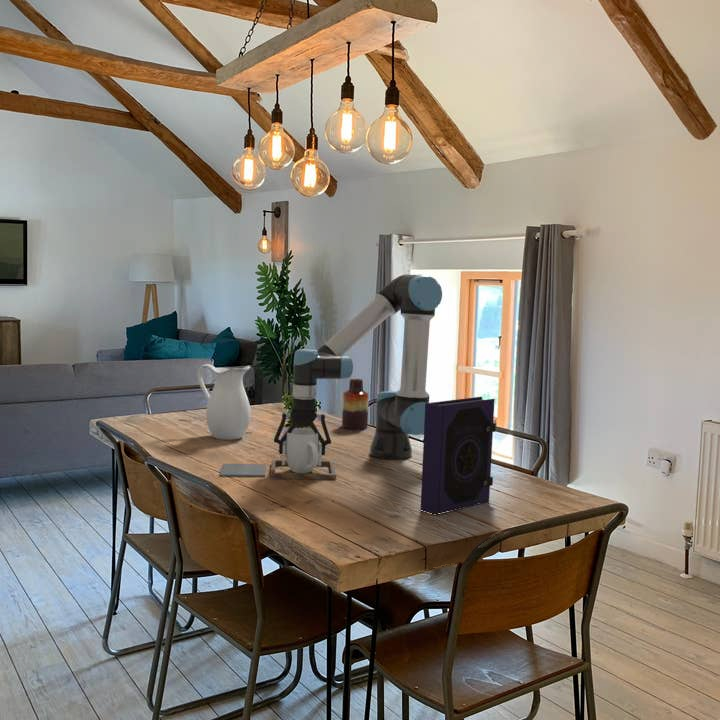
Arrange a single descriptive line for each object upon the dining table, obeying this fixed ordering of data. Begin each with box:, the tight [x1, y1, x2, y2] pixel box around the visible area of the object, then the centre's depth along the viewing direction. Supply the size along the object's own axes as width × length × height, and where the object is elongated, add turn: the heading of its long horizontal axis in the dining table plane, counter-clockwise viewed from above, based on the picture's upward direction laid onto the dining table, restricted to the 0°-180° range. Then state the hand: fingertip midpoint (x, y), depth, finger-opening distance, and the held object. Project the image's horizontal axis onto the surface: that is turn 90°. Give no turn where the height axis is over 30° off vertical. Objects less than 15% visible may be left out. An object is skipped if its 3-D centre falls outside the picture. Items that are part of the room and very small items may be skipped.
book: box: [420, 396, 497, 514], centre depth 216 cm, size 24×6×30 cm, turn 132°
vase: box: [341, 378, 370, 431], centre depth 326 cm, size 11×11×20 cm
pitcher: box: [196, 363, 251, 441], centre depth 299 cm, size 24×17×28 cm
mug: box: [284, 427, 320, 473], centre depth 248 cm, size 15×11×13 cm
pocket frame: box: [270, 459, 337, 480], centre depth 250 cm, size 20×18×2 cm
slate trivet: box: [219, 463, 267, 478], centre depth 248 cm, size 14×14×1 cm
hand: (301, 464), depth 249 cm, fingers closed on mug, 11 cm apart
